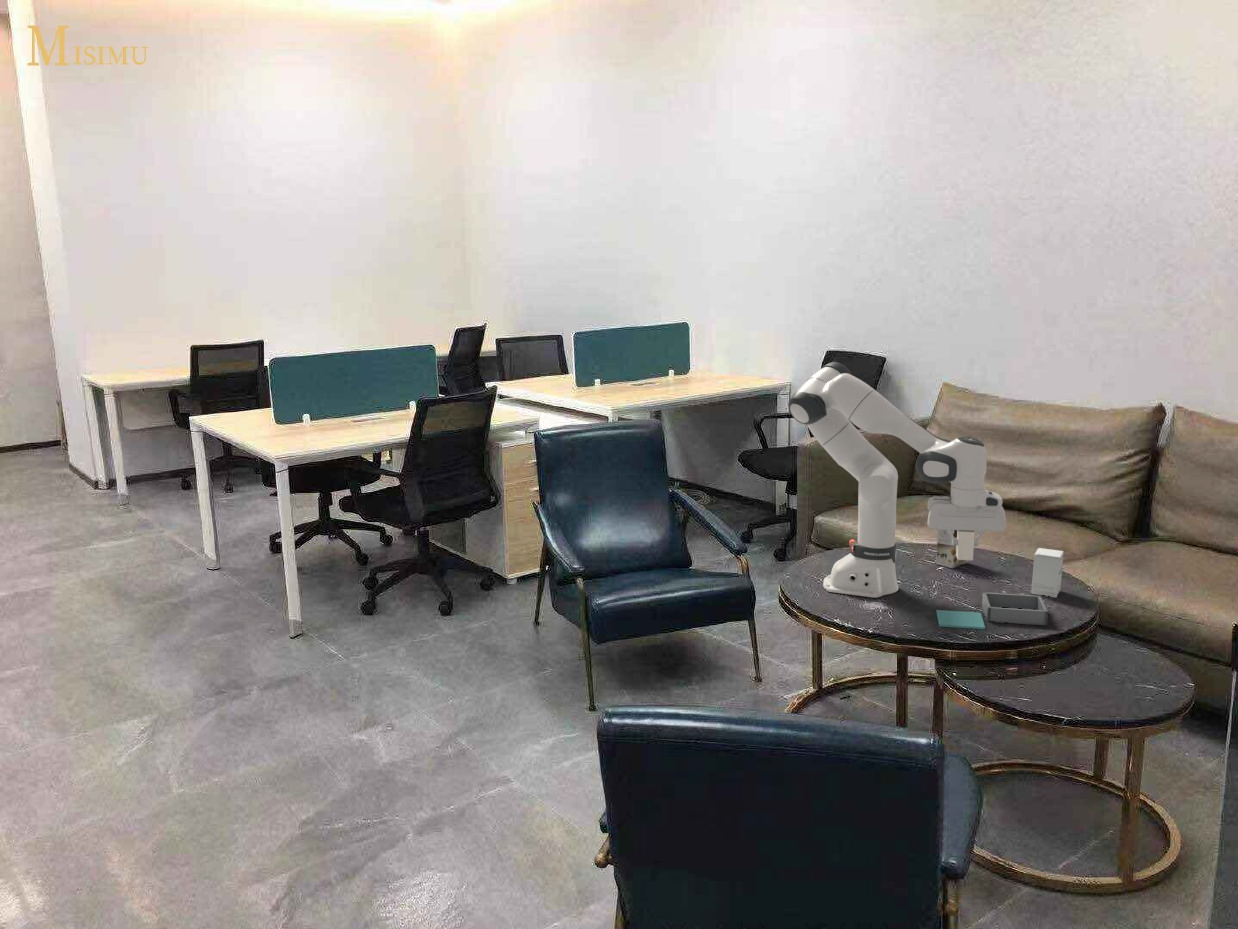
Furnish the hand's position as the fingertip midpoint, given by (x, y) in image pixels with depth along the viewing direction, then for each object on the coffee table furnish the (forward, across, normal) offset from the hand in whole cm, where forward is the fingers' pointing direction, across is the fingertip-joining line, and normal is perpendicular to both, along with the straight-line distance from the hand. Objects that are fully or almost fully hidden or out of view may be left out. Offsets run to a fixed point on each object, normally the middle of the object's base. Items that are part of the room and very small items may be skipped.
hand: (965, 545), depth 272 cm
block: (+4, 0, 0) cm, 4 cm away
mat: (+22, 0, 0) cm, 22 cm away
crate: (+22, +15, +7) cm, 27 cm away
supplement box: (+22, +27, +28) cm, 45 cm away
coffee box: (+22, +2, +51) cm, 56 cm away
